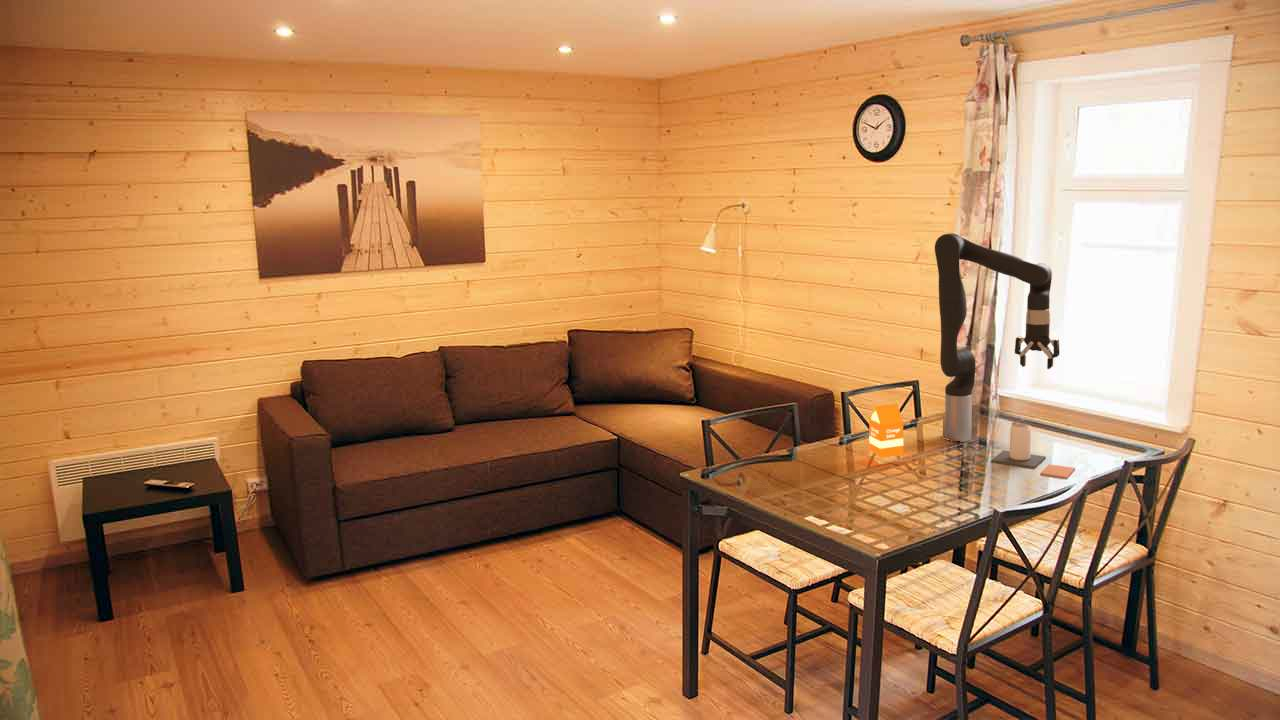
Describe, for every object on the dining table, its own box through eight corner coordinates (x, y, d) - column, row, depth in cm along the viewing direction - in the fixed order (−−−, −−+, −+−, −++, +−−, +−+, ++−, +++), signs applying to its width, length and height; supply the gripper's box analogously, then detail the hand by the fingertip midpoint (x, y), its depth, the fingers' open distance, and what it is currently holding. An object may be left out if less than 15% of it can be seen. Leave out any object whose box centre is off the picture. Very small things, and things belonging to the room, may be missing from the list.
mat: (991, 462, 306) (991, 459, 306) (1003, 452, 315) (1003, 450, 314) (1034, 468, 297) (1034, 466, 297) (1045, 458, 306) (1045, 456, 306)
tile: (1048, 467, 299) (1040, 476, 291) (1049, 464, 299) (1040, 472, 291) (1075, 471, 294) (1066, 480, 286) (1075, 467, 294) (1066, 476, 286)
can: (1025, 454, 309) (1026, 420, 306) (1033, 460, 302) (1034, 426, 300) (1006, 455, 309) (1007, 421, 306) (1013, 461, 303) (1014, 427, 300)
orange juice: (903, 462, 311) (903, 406, 307) (880, 465, 309) (880, 409, 305) (891, 455, 319) (891, 400, 314) (869, 458, 317) (868, 403, 312)
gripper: (1012, 322, 314) (1011, 367, 317) (1056, 324, 305) (1054, 371, 308) (1019, 318, 319) (1018, 363, 323) (1062, 321, 310) (1061, 367, 314)
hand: (1036, 367), depth 315 cm, fingers open, 8 cm apart
